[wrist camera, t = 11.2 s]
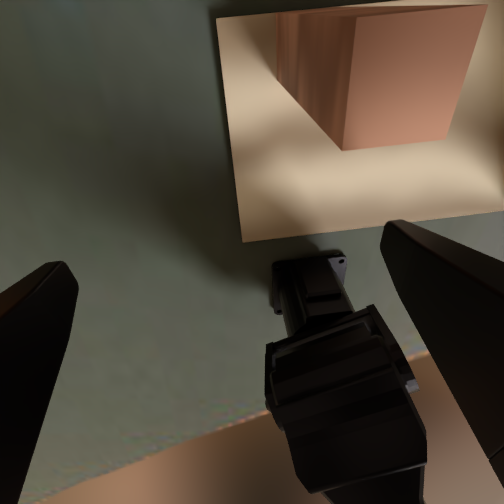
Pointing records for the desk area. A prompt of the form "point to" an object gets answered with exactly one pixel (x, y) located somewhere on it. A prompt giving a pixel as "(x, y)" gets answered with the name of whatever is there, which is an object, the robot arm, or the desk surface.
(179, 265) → the desk surface
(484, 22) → the birch strip
